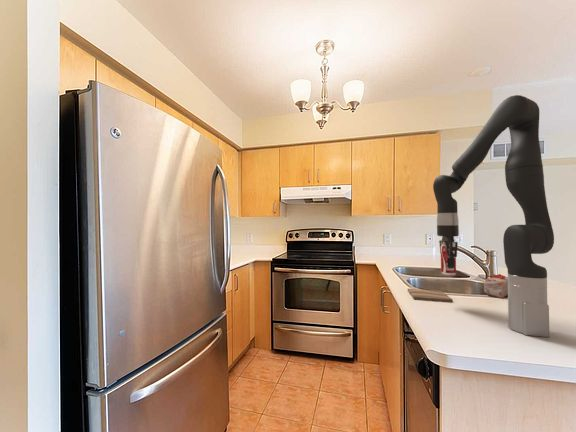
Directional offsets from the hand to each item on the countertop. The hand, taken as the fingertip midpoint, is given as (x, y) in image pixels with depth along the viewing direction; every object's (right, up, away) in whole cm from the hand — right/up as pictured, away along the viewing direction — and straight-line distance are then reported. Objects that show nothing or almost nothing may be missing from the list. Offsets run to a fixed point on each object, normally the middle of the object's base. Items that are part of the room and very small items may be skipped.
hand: (448, 266), depth 106 cm
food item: (+34, -17, +17) cm, 42 cm away
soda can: (0, -3, 0) cm, 3 cm away
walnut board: (0, -17, +14) cm, 22 cm away
